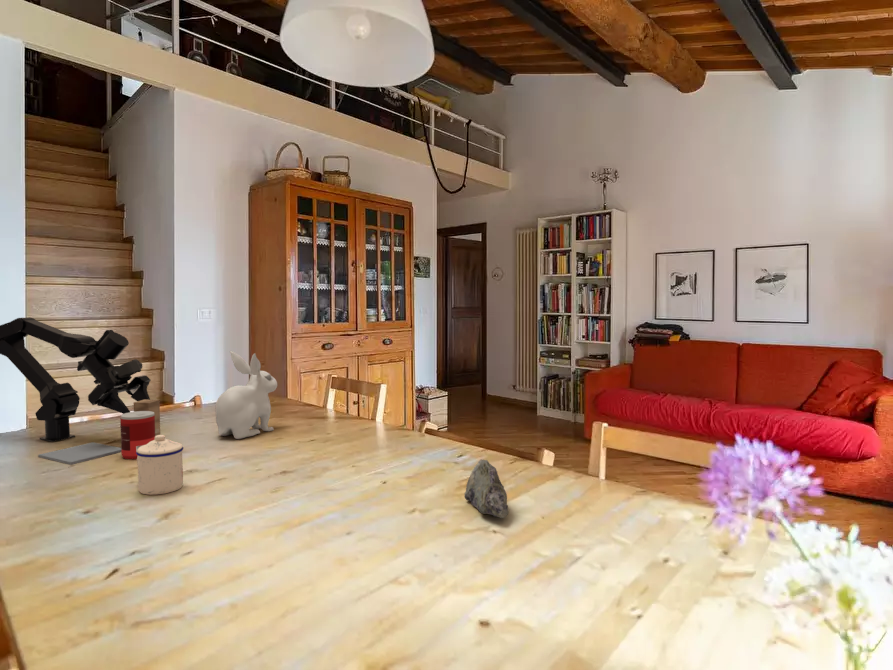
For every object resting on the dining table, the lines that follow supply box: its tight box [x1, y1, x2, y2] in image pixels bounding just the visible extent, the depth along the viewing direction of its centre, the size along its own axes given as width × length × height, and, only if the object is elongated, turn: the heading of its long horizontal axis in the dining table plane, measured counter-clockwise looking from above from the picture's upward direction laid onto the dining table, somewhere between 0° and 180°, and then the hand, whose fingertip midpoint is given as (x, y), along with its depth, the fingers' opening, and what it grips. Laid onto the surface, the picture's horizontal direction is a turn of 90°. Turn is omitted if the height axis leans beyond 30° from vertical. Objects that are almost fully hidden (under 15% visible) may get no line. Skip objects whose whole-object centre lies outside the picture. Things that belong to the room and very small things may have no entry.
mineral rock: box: [463, 459, 510, 519], centre depth 111 cm, size 13×11×10 cm
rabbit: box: [215, 350, 278, 440], centre depth 171 cm, size 12×21×25 cm, turn 148°
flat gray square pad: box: [37, 441, 121, 466], centre depth 148 cm, size 14×14×1 cm
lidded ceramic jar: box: [136, 434, 184, 496], centre depth 123 cm, size 12×9×12 cm
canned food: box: [119, 411, 155, 460], centre depth 147 cm, size 8×8×11 cm
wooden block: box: [133, 399, 161, 436], centre depth 159 cm, size 5×5×12 cm
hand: (140, 410), depth 159 cm, fingers open, 9 cm apart
